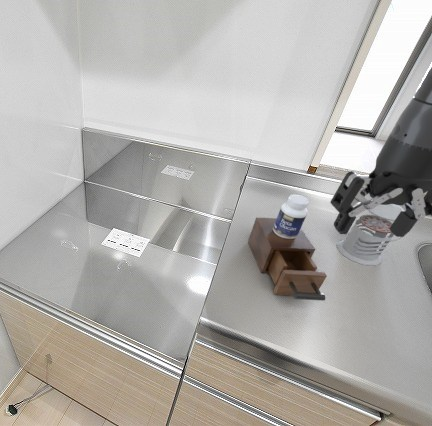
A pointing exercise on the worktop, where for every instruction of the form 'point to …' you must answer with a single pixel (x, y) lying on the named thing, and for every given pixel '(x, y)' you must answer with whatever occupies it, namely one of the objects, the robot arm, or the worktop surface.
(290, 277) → the drawer
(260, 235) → the cabinet
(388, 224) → the french press
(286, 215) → the pill bottle
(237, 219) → the worktop surface
